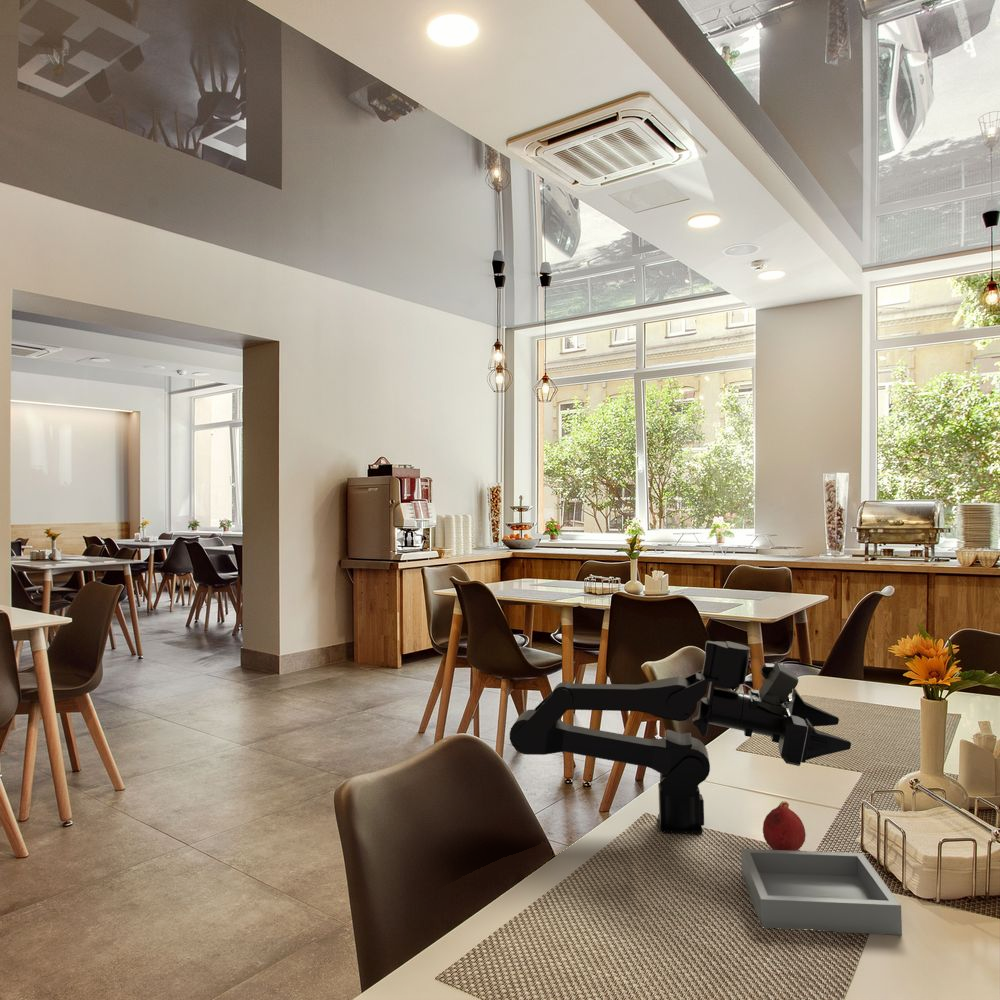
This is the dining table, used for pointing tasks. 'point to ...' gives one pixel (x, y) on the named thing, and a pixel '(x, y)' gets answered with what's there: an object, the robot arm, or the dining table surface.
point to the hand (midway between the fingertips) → (844, 732)
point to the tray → (819, 892)
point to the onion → (783, 829)
